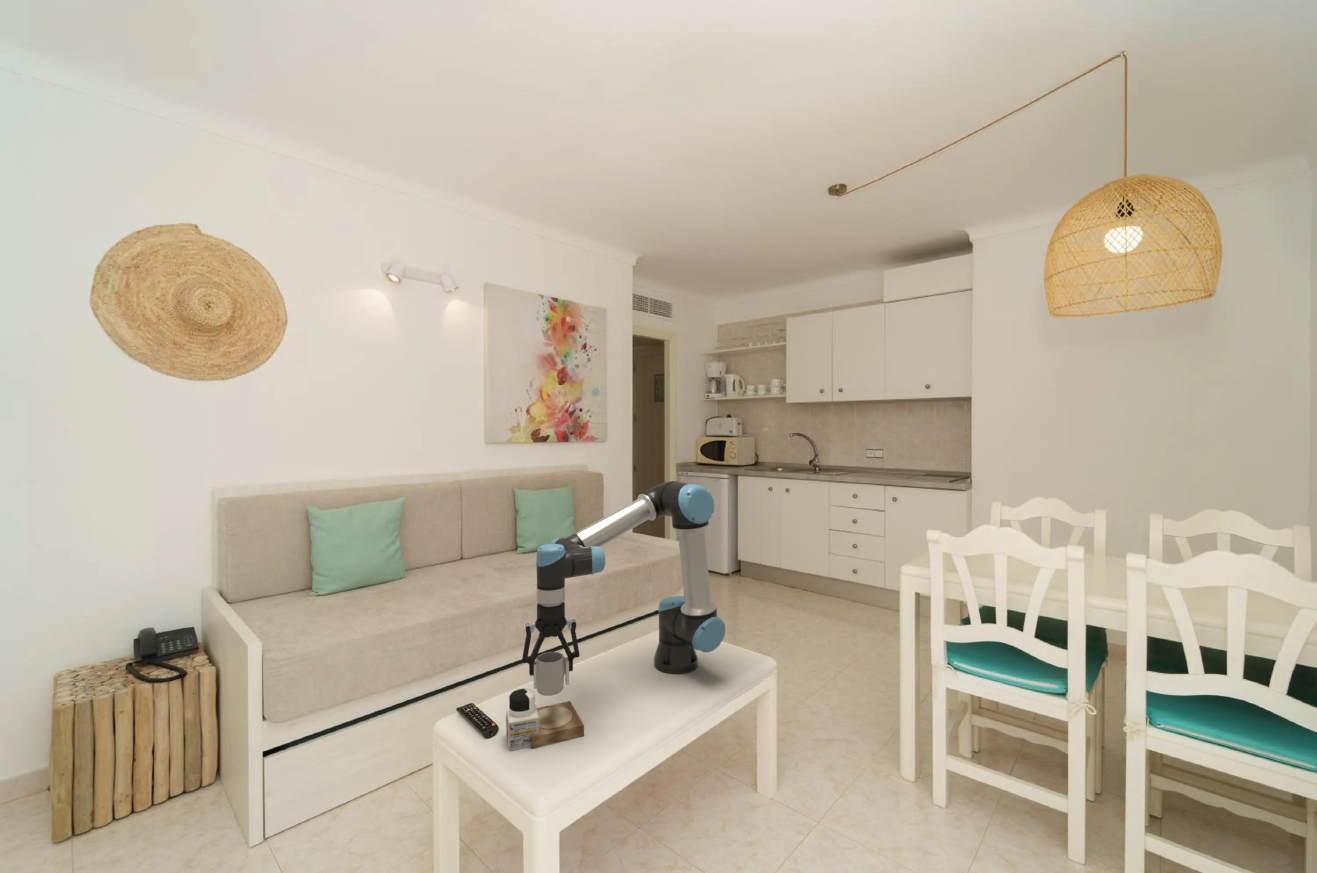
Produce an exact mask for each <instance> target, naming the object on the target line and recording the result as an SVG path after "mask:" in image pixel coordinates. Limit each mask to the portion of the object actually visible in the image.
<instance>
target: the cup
mask: <svg viewBox="0 0 1317 873" xmlns="http://www.w3.org/2000/svg"><path fill="white" fill-rule="evenodd" d="M535 661H536V663H537V689H536V692H537V693H538V694H539V695H541V696H545V697H546V696H547V697H549V696H555V695H559V694H560V693H561V692H562V691H563V690H564V688H565V687H564V685H565V684H564V682H565V679H564V678H565V656H564V654H563V653H561V652H558V651H547V652H544V653H543V652H542V653H541V654H539V655H537V657H536V659H535Z"/></svg>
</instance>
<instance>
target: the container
mask: <svg viewBox="0 0 1317 873" xmlns="http://www.w3.org/2000/svg"><path fill="white" fill-rule="evenodd" d="M535 696H536V694H535V691H533V690H532V689H530V688H518V689H515V690H514V691H512V692H511V693H510V695H509V696H508V697H509V703H508V704H509V707H507V708H506V709H505V723H506V724H505V729H506V731H505V732H506V733H505V734H506V735H505V736H506V740H507V741H506V742H507V746H508V751H509V752H511V751H517V750H521V749H525V748H527V749H528V748H531V735H536V734H539V716H538V712H537V709H536V708H537V706H536V698H535Z"/></svg>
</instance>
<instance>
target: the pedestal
mask: <svg viewBox="0 0 1317 873" xmlns="http://www.w3.org/2000/svg"><path fill="white" fill-rule="evenodd" d="M536 709H537V712H538V716H539V734H536V735H531V747H530V749H533V750H534V749H537V748H540V747H545V746H548V745H553V744H557V743H560V742H565V741H569V740H573V739H577V738H581V737H584V736H585V724H584V722H583V721H582V719H581V718H580V716H579V714H578V712H577V710H576V709H575V707H574V705H573V703H572V702H571V701H570V700H569V701H564V702H559V703H555V704H551V705H550V704H549V705H544V706H541V707H536Z"/></svg>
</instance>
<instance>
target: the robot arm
mask: <svg viewBox="0 0 1317 873" xmlns="http://www.w3.org/2000/svg"><path fill="white" fill-rule="evenodd" d="M714 511H715V500H714V498H713V495H712V493H711V492H710V490H708V488H706V487H704V486H702V485H699V484H697V483H694V482H693V483H689V482H683V481H682V482H681V481H677V480H675V481H674V480H670V481H665V482H662V483H660V484H657V485H655V486H653V487H651V488H650V489H647V490H645V491H643V492H642V493H640V494H639V495H638V496H637V499H635V500H633V501H631V502H630V503H628V504H626V505H624V506H622V507H621V508H620V507H619V509H617V510H614V511H613V512H611V513H610V514H608V515H606V516H604V517H603V518H601V519H599V520H596V521H595V522H593V523H591V524H590V525H588V526H586V527H584V528H582V529H580V530H578V531H576V532H575V533H573V534H571V535H569V536H567V537H565V538H564V537H557V538H554V539H553V540H551V542H549V543H547V544H543V545H540V546H539V547H538V548H537V551H536V561H535V565H536V602H537V603H536V620H535V622H533V623H526V624H525V633H526V634H525V639H524V645H523V646H524V647H523V652H522V657H521V658H522V663H523V664H528V671H529V673H528V674H529V676H530V677H533V690H535V689H536V690H537V661H536V659H537V657H538V654H539V653H540V649H541V647H542V645H543V643H544V641H545V639H546V638H551V637H552V638H557V637H558V639H559V641H560V644H561V645H562V647H563V649H564V651H565V654H566V656H567V657H565V656H564V657H565V675H564V678H565V679H564V682H565V685H566V686H569V685H570V672H573V671H574V659H577V658H580V650H579V643H578V638H577V637H578V636H577V631H576V629H577V621H576V619H571V620H568V619H567V618H566V613H565V612H566V606H565V605H566V604H565V600H566V597H565V596H566V591H565V590H566V588H565V587H566V586H565V585H566V584H565V582H566V579H570V578H576V577H582V576H588V575H592V576H593V575H594V574H598V573H599V574H600V573H602V571H604V569H605V568H606V556H605V555H606V554H605V551H604V550H603V548H602V546H604V545H606V544H609V542H611V541H613V540H614V539H617V538H618V537H620V536H623V535H624V534H626V533H627V532H629V531H631V530H632V529H635V528H636V527H638V526H640V525H641V524H642V523H644V522H646V521H648V520H649V521H654V520H656V519H658V518H661V517H671V523H672V529H673V530H675V531H676V532H677V537H678V538H677V539H678V545H679V546H678V548H679V558H680V560H679V561H680V569H681V579H682V590H683V595H675V596H669V597H665V598H663V599H661V600H660V601H659V604H658V611H657V612H658V644H657V647H656V650H655V653H654V657H653V665H654V667H655V668H656V669H657V670H658V671H660V672H663V673H667V674H674V675H677V674H679V675H680V674H685V673H687V674H688V673H689V672H692V671H694V670H695V669H696V668H697V667H698V666H699V664H698V663H699V662H698V655H697V652H696V651H699V652H702V653H711V652H713V651H715V650H716V649H718V647H719V646H720V645H721V643H722V642H723V640H724V639H725V635H726V625H725V624H726V623H725V622H724V620H722V619H721V617H718V611H717V610H718V609H717V605H716V603H715V602H714V601H712V599H711V598H712V597H711V596H712V595H711V587H710V586H711V585H710V575H709V566H708V565H709V564H708V553H707V545H706V535H705V534H706V532H705V529H706V528H707V527H708V526H709V523H710V522H709V520H710V519H711V518H712V516H713V515H712V514H713V513H714ZM566 626H567V629H569V632H570V635H571V642H572V646H573V651H571V650H572V649H570V646H569V644H568V642H567V639H566V638H565V636H564V633H563V630H564V629H565V627H566ZM535 629H536V630H537V631H538V632H539V634H538V637H537V639H536V641H535V644H534V647H533V648H532V651H531V653H530V655H529V652H530V646H531V641H532V640H531V639H532V634H533V633H534V631H535Z"/></svg>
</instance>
